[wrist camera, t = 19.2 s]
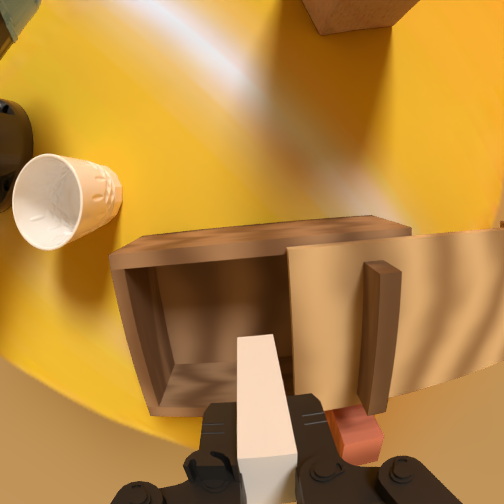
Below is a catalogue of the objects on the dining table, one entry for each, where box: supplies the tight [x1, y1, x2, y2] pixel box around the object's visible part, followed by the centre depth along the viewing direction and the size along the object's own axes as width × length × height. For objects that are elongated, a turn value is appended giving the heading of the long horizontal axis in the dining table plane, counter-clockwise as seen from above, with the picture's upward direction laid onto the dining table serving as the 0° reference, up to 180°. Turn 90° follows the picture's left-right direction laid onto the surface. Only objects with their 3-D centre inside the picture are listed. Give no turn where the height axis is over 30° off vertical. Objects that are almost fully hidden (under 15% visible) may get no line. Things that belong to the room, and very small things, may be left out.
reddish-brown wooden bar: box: [324, 404, 384, 466], centre depth 30 cm, size 4×4×12 cm
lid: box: [286, 221, 504, 416], centre depth 24 cm, size 26×15×8 cm, turn 95°
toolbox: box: [108, 215, 412, 417], centre depth 29 cm, size 24×16×9 cm, turn 95°
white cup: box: [12, 154, 122, 251], centre depth 26 cm, size 8×8×10 cm
